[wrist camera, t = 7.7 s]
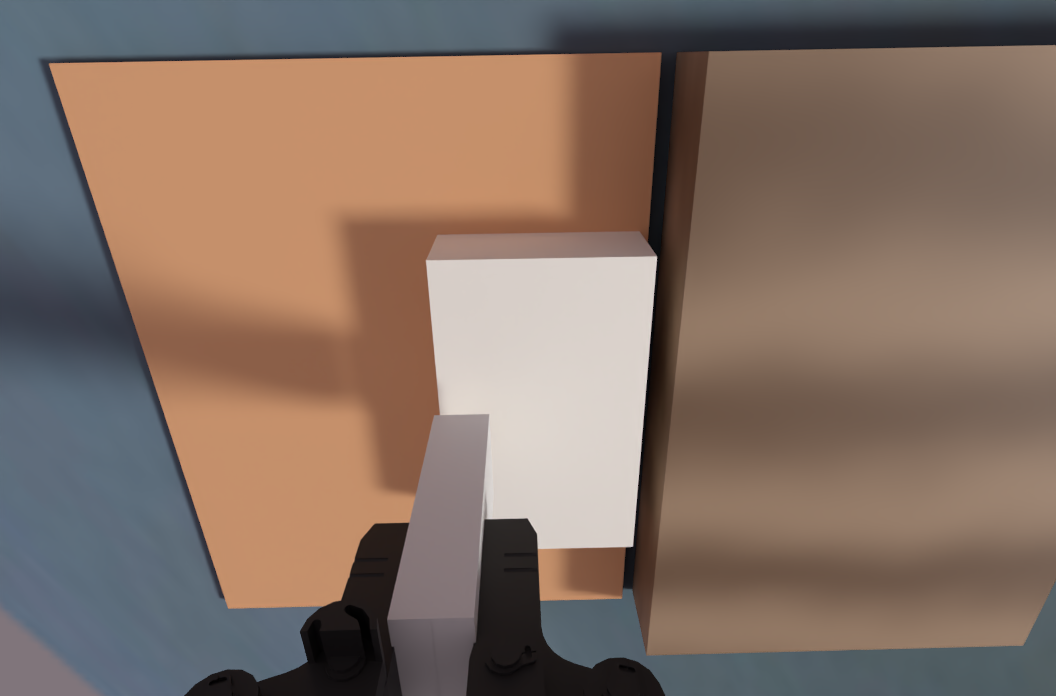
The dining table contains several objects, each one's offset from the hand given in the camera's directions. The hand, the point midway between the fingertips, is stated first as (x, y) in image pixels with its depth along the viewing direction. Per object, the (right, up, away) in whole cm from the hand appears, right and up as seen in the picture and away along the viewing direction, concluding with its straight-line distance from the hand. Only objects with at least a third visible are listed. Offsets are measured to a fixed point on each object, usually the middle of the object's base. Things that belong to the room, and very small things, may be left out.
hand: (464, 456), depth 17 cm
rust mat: (-3, +2, +4) cm, 5 cm away
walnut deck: (+13, +2, +4) cm, 14 cm away
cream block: (+2, +2, +3) cm, 4 cm away
